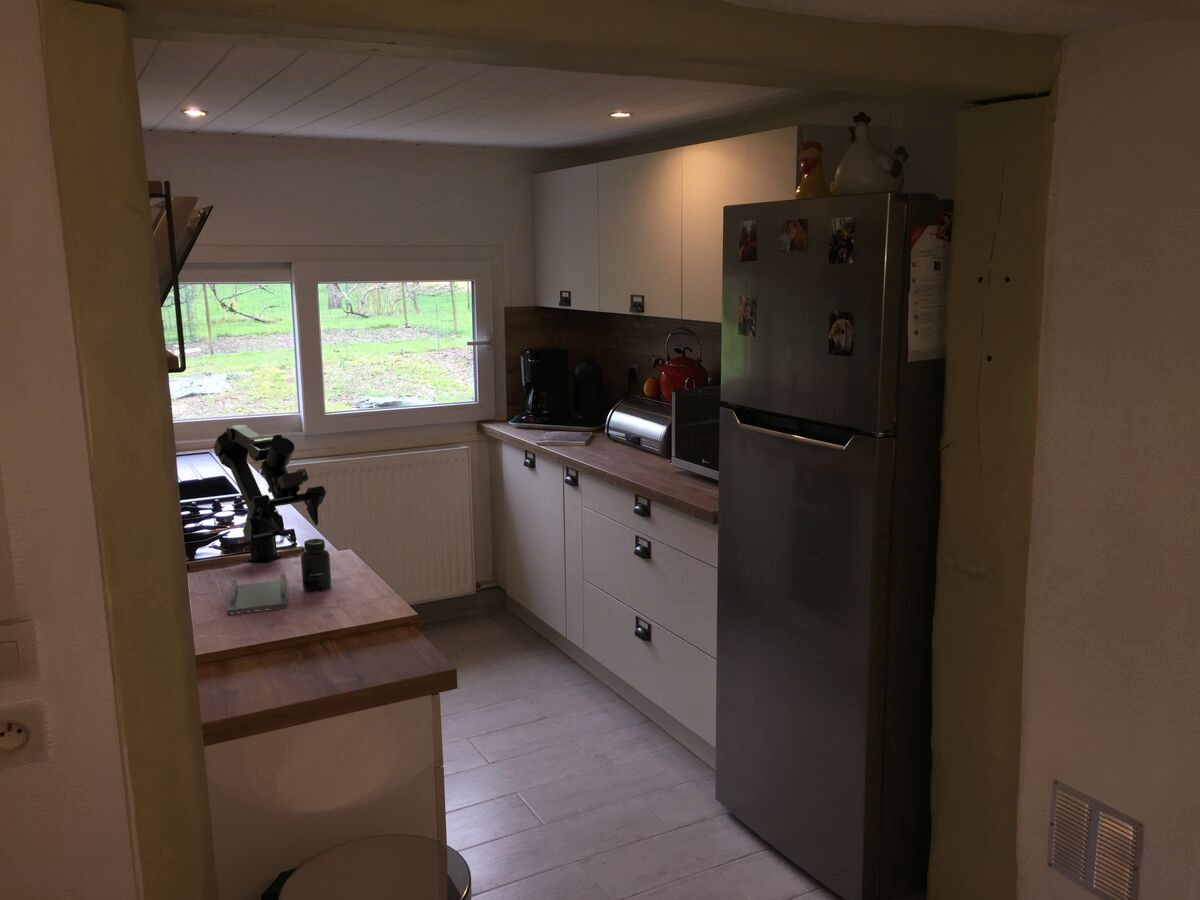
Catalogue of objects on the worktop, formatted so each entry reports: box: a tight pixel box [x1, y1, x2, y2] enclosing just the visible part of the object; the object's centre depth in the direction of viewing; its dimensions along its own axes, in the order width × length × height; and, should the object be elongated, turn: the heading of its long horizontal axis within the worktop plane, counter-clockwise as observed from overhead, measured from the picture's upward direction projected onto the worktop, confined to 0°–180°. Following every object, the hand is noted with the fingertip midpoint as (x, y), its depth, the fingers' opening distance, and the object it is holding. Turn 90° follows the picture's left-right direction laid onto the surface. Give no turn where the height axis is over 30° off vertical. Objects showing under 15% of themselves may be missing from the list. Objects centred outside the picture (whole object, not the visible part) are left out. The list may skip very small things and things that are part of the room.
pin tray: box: [227, 572, 289, 615], centre depth 231 cm, size 18×13×5 cm
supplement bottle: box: [300, 538, 332, 593], centre depth 238 cm, size 7×7×12 cm
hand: (299, 528), depth 242 cm, fingers open, 9 cm apart
